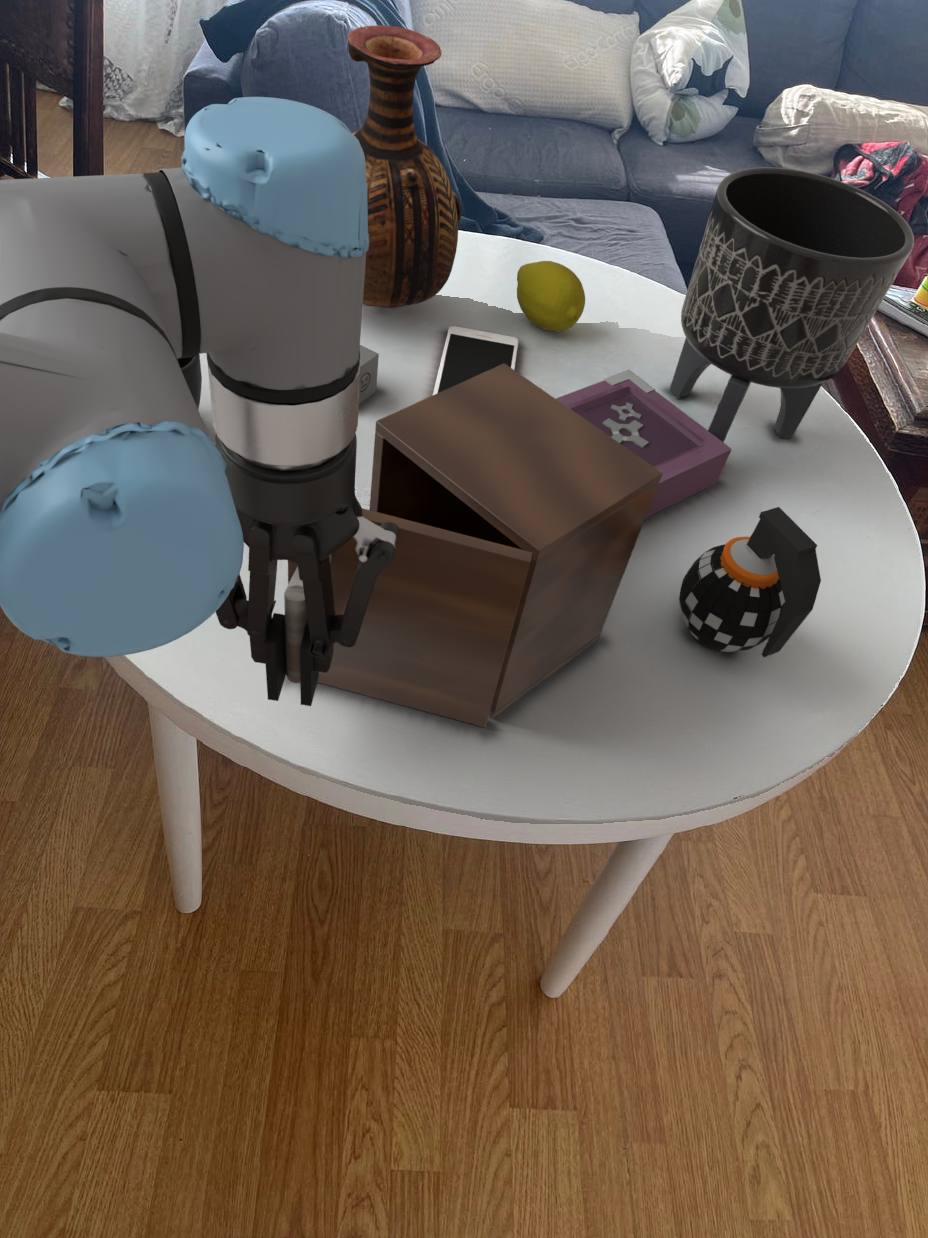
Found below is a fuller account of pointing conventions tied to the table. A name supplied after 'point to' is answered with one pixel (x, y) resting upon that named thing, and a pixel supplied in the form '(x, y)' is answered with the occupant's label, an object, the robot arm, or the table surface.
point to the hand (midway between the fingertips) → (293, 687)
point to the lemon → (550, 295)
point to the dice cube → (367, 373)
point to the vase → (402, 175)
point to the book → (653, 434)
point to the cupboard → (521, 505)
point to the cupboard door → (421, 621)
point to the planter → (785, 286)
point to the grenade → (752, 587)
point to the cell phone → (472, 355)
